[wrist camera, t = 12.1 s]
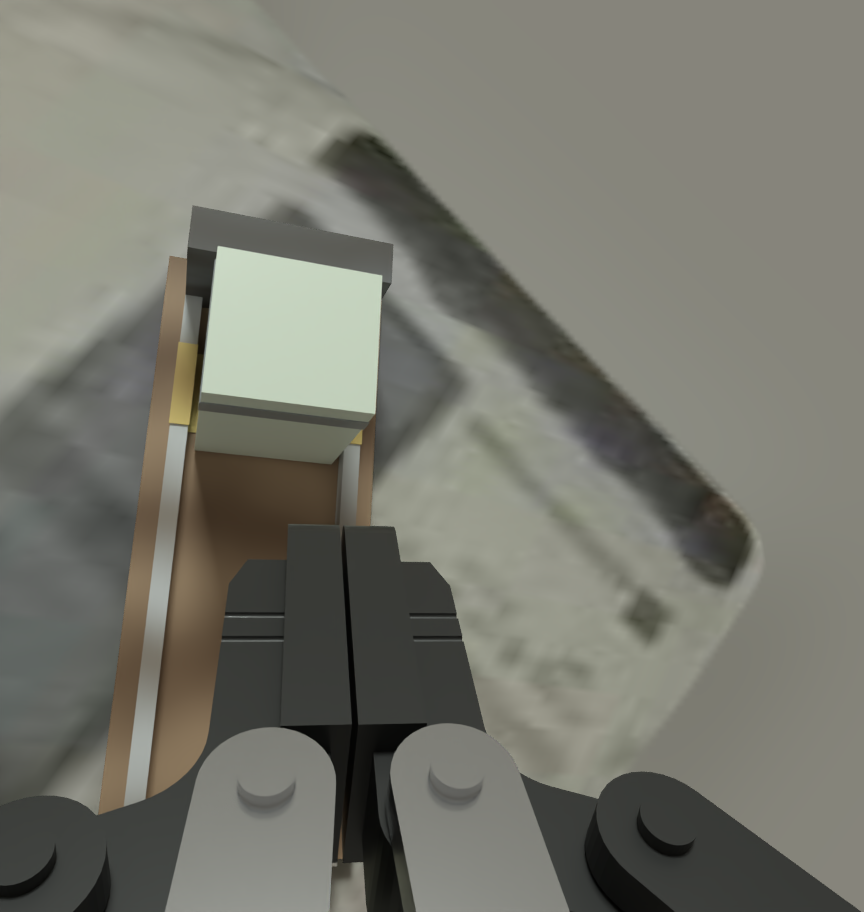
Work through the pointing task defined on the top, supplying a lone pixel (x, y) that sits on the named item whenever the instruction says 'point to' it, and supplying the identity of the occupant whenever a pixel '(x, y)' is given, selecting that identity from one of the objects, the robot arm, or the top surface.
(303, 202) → the top surface
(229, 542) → the rail base
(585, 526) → the top surface
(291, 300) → the sliding block
